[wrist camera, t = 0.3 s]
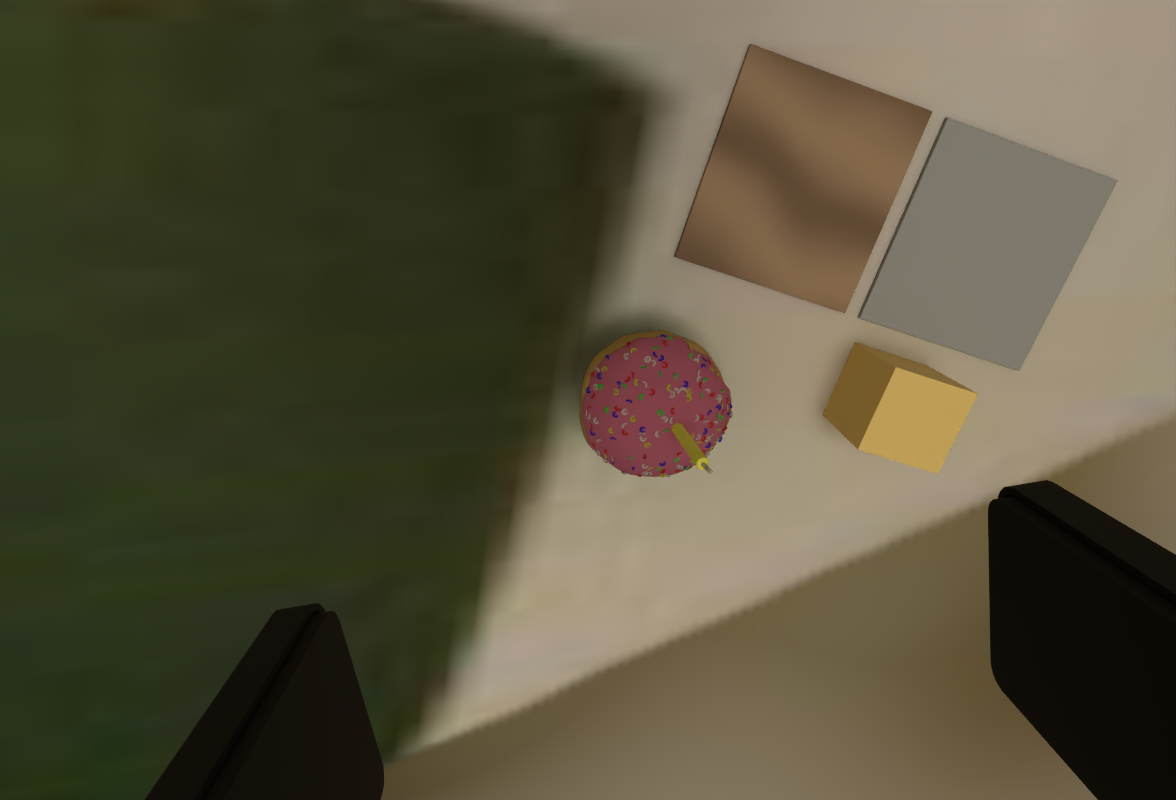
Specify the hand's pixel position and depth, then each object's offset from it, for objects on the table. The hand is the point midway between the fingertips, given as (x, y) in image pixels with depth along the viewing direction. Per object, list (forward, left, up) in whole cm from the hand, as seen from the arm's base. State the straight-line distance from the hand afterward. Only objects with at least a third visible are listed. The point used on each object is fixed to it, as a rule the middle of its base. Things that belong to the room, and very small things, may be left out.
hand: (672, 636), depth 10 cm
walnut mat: (-9, +10, -35) cm, 37 cm away
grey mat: (-9, +22, -35) cm, 42 cm away
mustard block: (+1, +19, -35) cm, 40 cm away
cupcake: (+5, +5, -35) cm, 36 cm away
